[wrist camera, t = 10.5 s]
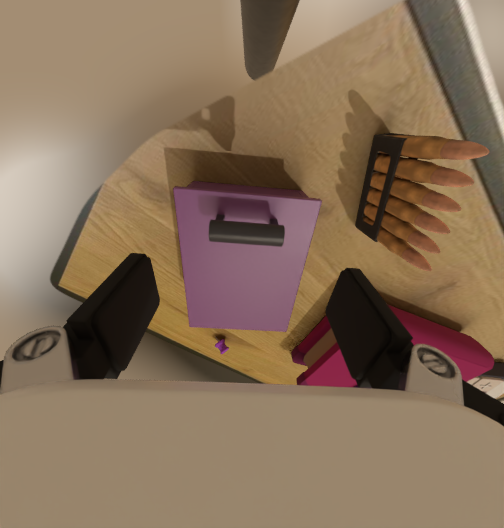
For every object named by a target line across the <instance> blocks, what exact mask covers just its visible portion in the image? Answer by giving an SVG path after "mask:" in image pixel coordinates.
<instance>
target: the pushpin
mask: <svg viewBox="0 0 504 528" xmlns="http://www.w3.org/2000/svg"><path fill="white" fill-rule="evenodd" d="M216 339H217V337H216ZM217 340H218V339H217ZM224 342H225V340H224V339H222V340H220V341H219V340H218V343H217V344H216V345H215V347H217V348H219V350H220V351H221V354H223V353H224V352H226V351H227V350H228V349H229V348H228V347H226V345H225V343H224Z"/></svg>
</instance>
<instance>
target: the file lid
mask: <svg viewBox="0 0 504 528" xmlns="http://www.w3.org/2000/svg"><path fill="white" fill-rule="evenodd" d="M173 191H174V199H175V208H176V216H177V224H178V233H179V241H180V250H181V258H182V267H183V275H184V283H185V292H186V300H187V309H188V317H189V326H190V327H202V328H222V329H243V330H263V331H283V332H286V331H287V328H288V324H289V321H290V317H291V313H292V309H293V306H294V302H295V298H296V295H297V291H298V287H299V284H300V280H301V276H302V273H303V269H304V265H305V261H306V258H307V254H308V250H309V247H310V243H311V239H312V236H313V232H314V228H315V225H316V221H317V217H318V214H319V210H320V206H321V202H322V201H321V200H320V199H316V198H304V197H293V196H281V195H270V194H258V193H247V192H235V191H224V190H212V189H201V188H189V187H178V186H175V187H174V188H173Z"/></svg>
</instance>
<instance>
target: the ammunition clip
mask: <svg viewBox="0 0 504 528" xmlns="http://www.w3.org/2000/svg"><path fill="white" fill-rule="evenodd" d="M488 153H489V150H488V149H487V148H486V147H484V146H482V145H480V144H477V143H474V142H469V141H462V140H453V139H446V138H443V137H438V136H414V135H404V134H394V133H389V134H378V135H375V136H374V139H373V143H372V148H371V153H370V158H369V162H368V167H367V172H366V177H365V181H364V186H363V191H362V196H361V201H360V205H359V210H358V215H357V220H356V224H355V226H356V228H358V229H359V230H360V231H362V232H363V233H364V234H366V235H367V236H368V237H369V238H371V239H372V240H373V241H375V242H377V240H378V241H379V242H380V243H381V244H383V245H384V246H385V247H386V248H387V249H389V250H390V251H391V252H393V253H395V254H397V255H399V256H400V257H402V258H403V259H405V260H406V261H407V262H409V263H410V264H412V265H414V266H416V267H418V268H420V269H422V270H426V271H431V270H432V269H431V266H430V264H429V263H428V261H427V260H426V259H425V258H424V257H423V256H422V255H421V254H420V253H419V252H417V251H416V250H415V249H414V248H413V247H411V246H410V245H409V244H408V243H407V242H409V243H411V244H413V245H414V246H416V247H418V248H420V249H422V250H424V251H427V252H431V253H440V249H439V247H438V246H437V245H436V243H435V242H434V241H433V240H431V239H430V238H429V237H428V236H426V235H424V234H423V233H421V232H420V231H419V230H417V229H416V228H415V227H414V226H413V225H412V224H414V225H417V226H419V227H421V228H423V229H426V230H428V231H431V232H435V233H441V234H448V233H450V230H449V228H448V227H447V225H446V224H445V223H443V222H442V221H441V220H439V219H438V218H436V217H435V216H433V215H431V214H429V213H427V212H425V211H423V210H422V209H421V208H420V207H418V206H417V205H415V204H419V205H422V206H426V207H429V208H431V209H435V210H439V211H447V212H457V211H460V210H461V207H460V205H459V204H458V203H456V202H455V201H454V200H452V199H451V198H449V197H447V196H445V195H443V194H440V193H437V192H435V191H433V190H431V189H428V188H427V187H425V186H424V185H422V184H418V183H415V182H419V183H431V184H437V185H441V186H449V187H464V186H470V185H473V184H474V181H473V179H472V178H471V177H469V176H468V175H466V174H464V173H462V172H460V171H457V170H454V169H449V168H445V167H442V166H438V165H436V164H434V163H432V162H427V161H421V160H417V159H418V158H420V159H428V160H430V159H453V160H464V159H472V158H478V157H481V156H484V155H487V154H488ZM400 156H405V157H409V158H403V157H400ZM395 176H397V177H395ZM399 177H400V178H399ZM402 178H403V179H402ZM410 180H411V181H410ZM412 181H414V182H412ZM413 203H414V204H413ZM409 222H410V223H412V224H410V223H409Z"/></svg>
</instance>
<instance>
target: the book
mask: <svg viewBox="0 0 504 528" xmlns="http://www.w3.org/2000/svg"><path fill="white" fill-rule="evenodd" d="M387 305H388V304H387ZM388 306H389V307H390V309H391V310H392V311H393V312H394V314H395V315H396V316H397V318H398V319H399V320H400V322H401V323H402V324H403V325H404V327H405V328H406V329H407V331H408V332H409V333H410V334H411V336H412V337H413V339H412V340H411V342H412V343H413V345H416V344H426V345H430V346H432V347H435V348H437V349H438V350H440V351H442V352H443V353H445V354H446V355H447V356H448V357H450V358H451V359H452V360H453V361H454V362H455V363H456V365H457V366H458V368H459V369H460V372H461V375H462V380H464V381H466V382H467V381H469V380H471V379H473V378H475V377H477V376H479V375H481V374H483V373H485V372H487V371H489V370H491V369H492V368H493V365H494V359H493V357H492V355H491V354H490V353H489V352H488V351H487V350H486V349H485V348H484V347H483V346H482V345H481V344H480V343H479V342H477V341H476V340H475V339H473V338H472V337H470V336H468V335H465V334H463V333H460V332H458V331H455V330H452V329H450V328H447V327H445V326H442V325H439V324H437V323H434V322H432V321H429V320H427V319H424V318H421V317H419V316H416V315H414V314H411V313H408V312H406V311H403V310H401V309H398V308H396V307H393V306H390V305H388ZM291 355H292V360H293V362H294V363H297V364H301V365H305V366H308V369H307V370H306V371H305V372H303V373H302V374H301V375H300V376H299V377H298V378H297V385H305V386H330V387H354V388H359V387H358V385H357V383H356V380H355V379H353V378H352V377H351V375H350V373H349V370H348V368H347V365H346V363H345V360H344V358H343V355H342V353H341V351H340V348H339V346H338V343H337V341H336V338H335V336H334V333H333V331H332V328H331V326H330V323H329V321H328V318H327V316H325V317H324V318H323V320H322V321H321V322H320V323H319V324H318V325H317V326H316V327H315V328H314V329H313V330H312V331H311V333H310V334H309V335H308V336H307V337H306V338H305V339H304V340H303V341H302V342H301V343H300V345H299V346H298V345H297V346H296V348H295V349H294V350H293V351H292V353H291ZM371 389H372V388H371Z"/></svg>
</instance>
